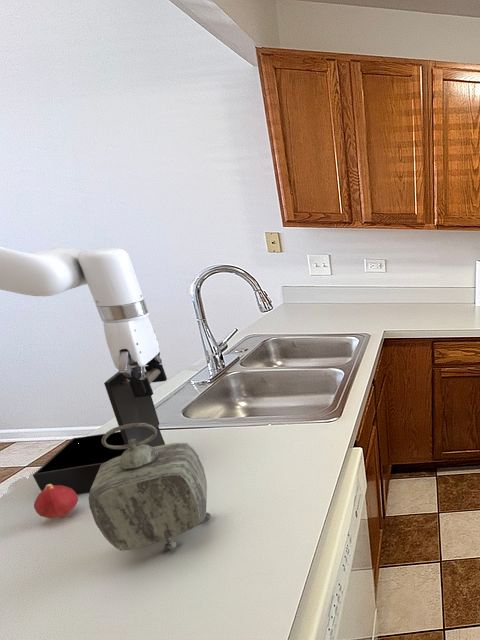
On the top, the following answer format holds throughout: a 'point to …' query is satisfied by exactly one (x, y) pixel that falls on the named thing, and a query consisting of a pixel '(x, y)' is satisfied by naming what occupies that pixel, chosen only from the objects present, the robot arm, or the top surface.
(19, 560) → the top surface
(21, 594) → the top surface
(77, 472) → the black shallow rectangular box
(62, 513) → the red round piece
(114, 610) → the top surface
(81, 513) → the top surface
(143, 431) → the lid
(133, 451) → the tabletop clock
